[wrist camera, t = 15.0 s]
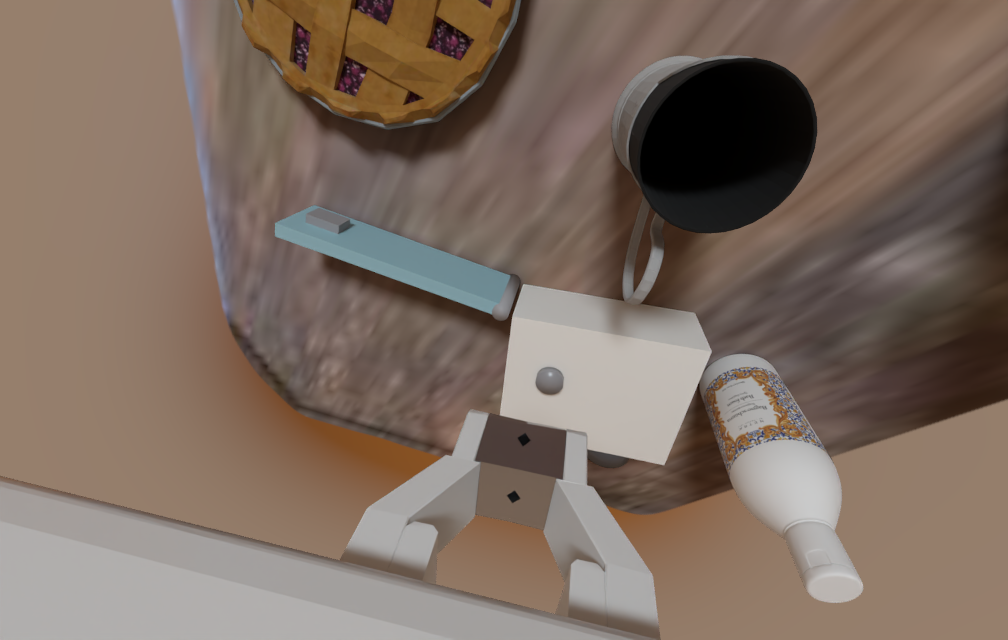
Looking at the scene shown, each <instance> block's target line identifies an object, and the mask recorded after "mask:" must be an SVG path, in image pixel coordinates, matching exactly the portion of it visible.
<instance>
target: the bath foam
mask: <svg viewBox="0 0 1008 640" xmlns="http://www.w3.org/2000/svg"><path fill="white" fill-rule="evenodd" d="M699 387H700V393H701V396H702V399H703V402H704V405H705V408H706V411H707V414H708V417H709V420H710V423H711V426H712V429H713V432H714V435H715V437H716V440H717V443H718V446H719V449H720V452H721V455H722V458H723V461H724V464H725V467H726V470H727V473H728V476H729V478H730V481H731V484H732V486H733V488H734V490H735V492H736V494H737V495H738V497H739V499H740V500H741V502H742V503H743V505H744V506H745V507H746V508H747V510H748V511H749V512H750V513H751V514H752V515H753V516H754V517H755V518H756V519H757V520H759V521H760V522H761V523H762V524H764V525H765V526H766V527H768V528H769V529H770V530H772V531H773V532H775V533H776V534H777V535H779V536H780V537H782V538H783V539H785V540H786V543H787V546H788V549H789V551H790V553H791V556H792V558H793V561H794V563H795V566H796V568H797V570H798V573H799V575H800V578H801V580H802V582H803V585H804V587H805V589H806V591H807V592H808V594H809V595H810V596H812V597H813V598H815V599H817V600H820V601H823V602H830V603H840V602H846V601H850V600H852V599H855V598H856V597H858V596H859V595H860V594H861V593H862V591H863V584H862V581H861V579H860V577H859V575H858V573H857V571H856V570H855V568H854V566H853V564H852V562H851V560H850V558H849V556H848V555H847V553H846V551H845V549H844V547H843V545H842V543H841V542H840V540H839V538H838V536H837V534H836V533H835V528H836V525H837V521H838V517H839V514H840V509H841V503H842V491H841V483H840V479H839V476H838V473H837V470H836V468H835V466H834V463H833V461H832V459H831V457H830V456H829V454H828V453H827V451H826V449H825V448H824V446H823V445H822V443H821V441H820V440H819V438H818V437H817V435H816V434H815V432H814V430H813V429H812V427H811V426H810V424H809V422H808V421H807V419H806V418H805V416H804V414H803V413H802V411H801V410H800V408H799V406H798V405H797V403H796V402H795V400H794V398H793V397H792V395H791V394H790V392H789V390H788V389H787V387H786V386H785V384H784V382H783V381H782V380H781V378H780V376H779V375H778V373H777V372H776V370H775V369H774V367H773V366H772V365H771V364H770V363H769V362H767V361H766V360H764V359H762V358H760V357H758V356H754V355H750V354H734V355H729V356H726V357H723V358H721V359H718V360H717V361H715V362H713V363H712V364H711V365H710V366H709V367H708V368H707V369H706V370H705V371H704V373H703V374H702V376H701V379H700V386H699Z"/></svg>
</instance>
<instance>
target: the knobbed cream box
mask: <svg viewBox="0 0 1008 640" xmlns="http://www.w3.org/2000/svg"><path fill="white" fill-rule="evenodd" d="M711 352H712V351H711V349H710V347H709V344H708V342H707V340H706V337H705V335H704V333H703V330H702V328H701V326H700V324H699V321H698V319H697V317H696V314H695V313H692V312H686V311H680V310H674V309H668V308H662V307H657V306H651V305H645V304H639V305H631V304H629V303H626V302H625V301H621V300H615V299H609V298H603V297H597V296H591V295H585V294H579V293H573V292H568V291H562V290H556V289H550V288H544V287H538V286H532V285H526V284H523V286H522V289H521V292H520V295H519V298H518V301H517V304H516V307H515V310H514V313H513V316H512V323H511V331H510V339H509V347H508V355H507V363H506V371H505V379H504V386H503V394H502V402H501V410H500V416H505V417H509V418H514V419H518V420H522V421H527V422H533V423H538V424H543V425H548V426H553V427H558V428H563V429H570V430H575V431H580V432H586V434H587V436H588V437H587V458H588V459H589V460H590V461H592V462H593V463H595V464H597V465H599V466H602V467H607V468H617V467H621V466H623V465H624V464H626V463H627V461H628V460H629V458H632V459H637V460H642V461H647V462H651V463H656V464H661V465H664V464H665V462H666V460H667V457H668V455H669V453H670V450H671V448H672V445H673V443H674V441H675V438H676V436H677V433H678V431H679V429H680V426H681V424H682V422H683V419H684V417H685V414H686V412H687V410H688V407H689V405H690V402H691V400H692V398H693V395H694V393H695V390H696V388H697V386H698V383H699V381H700V379H701V376H702V374H703V371H704V369H705V367H706V364H707V362H708V359H709V357H710V355H711Z"/></svg>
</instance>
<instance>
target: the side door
mask: <svg viewBox="0 0 1008 640" xmlns="http://www.w3.org/2000/svg"><path fill="white" fill-rule="evenodd" d="M275 236H276V237H279V238H281V239H284V240H287V241H290V242H292V243H295V244H298V245H301V246H304V247H306V248H309V249H312V250H315V251H317V252H320V253H323V254H326V255H329V256H331V257H334V258H337V259H340V260H342V261H345V262H348V263H351V264H354V265H356V266H359V267H362V268H365V269H367V270H370V271H373V272H376V273H379V274H381V275H384V276H387V277H390V278H392V279H395V280H398V281H401V282H403V283H406V284H409V285H412V286H415V287H417V288H420V289H423V290H426V291H428V292H431V293H434V294H437V295H440V296H442V297H445V298H448V299H451V300H453V301H456V302H459V303H462V304H465V305H467V306H470V307H473V308H476V309H478V310H481V311H484V312H487V313H490V314H492V315H493V317H494V318H495V319H496V320H499V321H503V320H506V319H507V318H508V316H509V313H510V310H511V307H512V304H513V302H514V299H515V296H516V293H517V290H518V288H519V285H520V278H519V277H518V276H517V275H515V274H510V275H507V274H504V273H501V272H499V271H496V270H493V269H490V268H488V267H485V266H482V265H479V264H476V263H474V262H471V261H468V260H465V259H463V258H460V257H457V256H454V255H451V254H449V253H446V252H443V251H440V250H438V249H435V248H432V247H429V246H426V245H424V244H421V243H418V242H415V241H413V240H410V239H407V238H404V237H401V236H399V235H396V234H393V233H390V232H388V231H385V230H382V229H379V228H376V227H374V226H371V225H368V224H365V223H363V222H360V221H357V220H354V219H351V218H349V217H346V216H343V215H340V214H338V213H335V212H332V211H329V210H326V209H324V208H321V207H318V206H315V205H314V206H311V207H309V208H307V209H305V210H303V211H300V212H298V213H296V214H294V215H292V216H289V217H287V218H285V219H283V220H281V221H279V222H276V223H275Z"/></svg>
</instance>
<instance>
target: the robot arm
mask: <svg viewBox="0 0 1008 640" xmlns="http://www.w3.org/2000/svg"><path fill="white" fill-rule="evenodd" d="M587 437H588V436H587V434H586V432H580V431H575V430H570V429H563V428H558V427H553V426H548V425H543V424H538V423H533V422H527V421H522V420H518V419H514V418H509V417H505V416H500V415H496V414H492V413H490V414H489V413H485V412H481V411H477V410H472V409H470V411H469V412H468V414H467V416H466V419H465V422H464V424H463V427H462V430H461V432H460V435H459V438H458V440H457V443H456V446H455V448H454V451H453V454H452V456H448V455H445V456H444V457H442V458H441V459H439V460H438V461H437V462H435V463H433V464H432V465H430V466H429V467H428V468H426V469H424V470H423V471H422V472H420V473H419V474H417V475H416V476H414V477H413V478H411V479H410V480H408V481H407V482H405V483H404V484H402V485H401V486H399V487H398V488H396V489H395V490H393V491H392V492H390V493H389V494H387V495H386V496H385V497H383V498H382V499H380V500H378V501H377V502H376V503H374V504H373V505H371V506H370V507H368V508H367V510H366V512H365V513H364V515H363V517H362V519H361V521H360V523H359V525H358V527H357V529H356V530H355V532H354V534H353V536H352V538H351V540H350V542H349V544H348V545H347V548H346V549H345V551H344V553H343V555H342V557H341V559H340V560H336V559H332V558H328V557H324V556H319V555H316V554H312V553H308V552H304V551H300V550H295V549H292V548H288V547H283V546H280V545H276V544H272V543H268V542H264V541H259V540H255V539H252V538H247V537H244V536H240V535H236V534H232V533H227V532H223V531H219V530H215V529H211V528H207V527H203V526H199V525H195V524H191V523H187V522H183V521H179V520H175V519H171V518H167V517H163V516H159V515H155V514H151V513H147V512H143V511H139V510H135V509H131V508H127V507H123V506H119V505H115V504H111V503H107V502H103V501H99V500H95V499H91V498H87V497H83V496H79V495H75V494H71V493H67V492H62V491H59V490H55V489H51V488H46V487H43V486H39V485H35V484H31V483H27V482H23V481H18V480H14V479H11V478H7V477H3V476H0V640H660V632H659V624H658V615H657V608H656V599H655V591H654V582H653V575H652V574H651V572H650V571H649V569H648V568H647V567H646V565H645V563H644V562H643V560H642V559H641V557H640V556H639V555H638V553H637V551H636V550H635V548H634V547H633V545H632V544H631V543H630V541H629V540H628V538H627V537H626V535H625V534H624V532H623V531H622V529H621V528H620V527H619V525H618V523H617V522H616V521H615V519H614V517H613V516H612V514H611V513H610V511H609V510H608V508H607V507H606V505H605V504H604V502H603V501H602V499H601V498H600V496H599V495H598V493H597V492H596V490H595V489H594V487H591V486H587ZM475 515H480V516H485V517H490V518H494V519H500V520H504V521H510V522H513V523H517V524H521V525H525V526H529V527H533V528H537V529H541V530H544V534H545V537H546V539H547V541H548V544H549V546H550V549H551V551H552V554H553V556H554V558H555V561H556V563H557V565H558V568H559V570H560V573H561V575H562V577H563V580H564V582H565V585H564V588H563V591H562V594H561V597H560V600H559V604H558V607H557V610H556V613H555V614H552V613H549V612H545V611H541V610H537V609H533V608H529V607H525V606H521V605H517V604H512V603H509V602H505V601H500V600H497V599H493V598H488V597H485V596H480V595H476V594H472V593H468V592H464V591H460V590H456V589H452V588H448V587H444V586H440V585H436V570H437V554H438V553H439V552H440V551H441V550H442V549H443V548H444V547H445V546H446V545H447V544H448V543H449V542H450V541H451V540H452V539H453V538H454V537H455V536H456V535H457V534H458V533H459V532H460V531H461V530H462V529H463V528H464V527H465V526H466V525H467V524H468V523H469V522H470V521H471V520H472V519H473V518H474V517H475Z"/></svg>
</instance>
